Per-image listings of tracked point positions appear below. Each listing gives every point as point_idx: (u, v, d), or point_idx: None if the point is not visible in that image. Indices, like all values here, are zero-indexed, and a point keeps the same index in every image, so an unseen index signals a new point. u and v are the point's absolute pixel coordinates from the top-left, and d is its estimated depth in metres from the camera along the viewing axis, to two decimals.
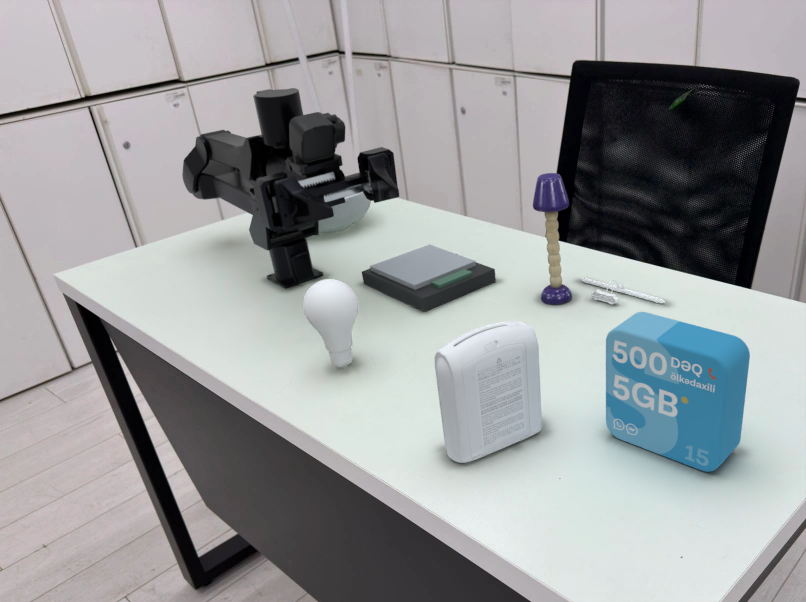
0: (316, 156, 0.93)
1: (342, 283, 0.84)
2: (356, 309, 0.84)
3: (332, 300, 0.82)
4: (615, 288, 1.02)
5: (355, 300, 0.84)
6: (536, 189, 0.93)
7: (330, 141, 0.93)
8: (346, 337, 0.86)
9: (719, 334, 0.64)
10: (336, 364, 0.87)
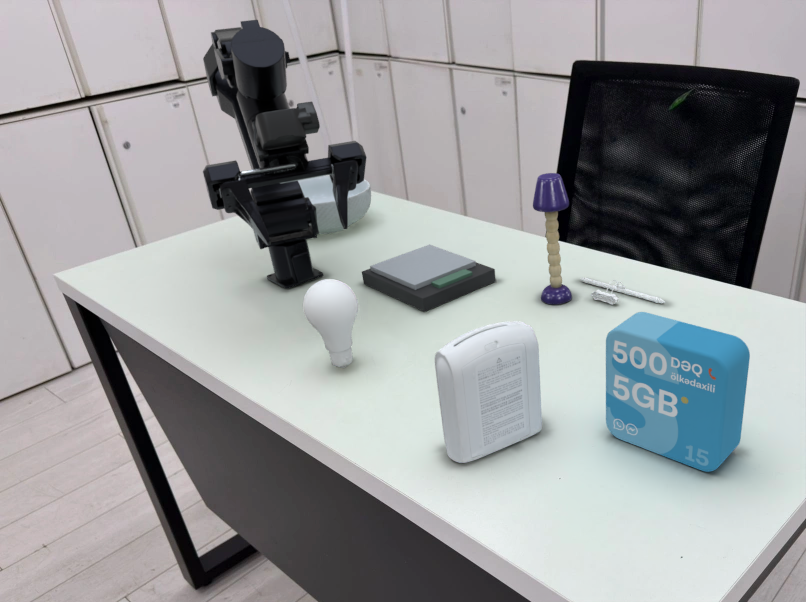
0: (280, 146, 0.87)
1: (342, 283, 0.84)
2: (356, 309, 0.84)
3: (332, 300, 0.82)
4: (615, 288, 1.02)
5: (355, 300, 0.84)
6: (536, 189, 0.93)
7: (298, 139, 0.86)
8: (346, 337, 0.86)
9: (719, 334, 0.64)
10: (336, 364, 0.87)
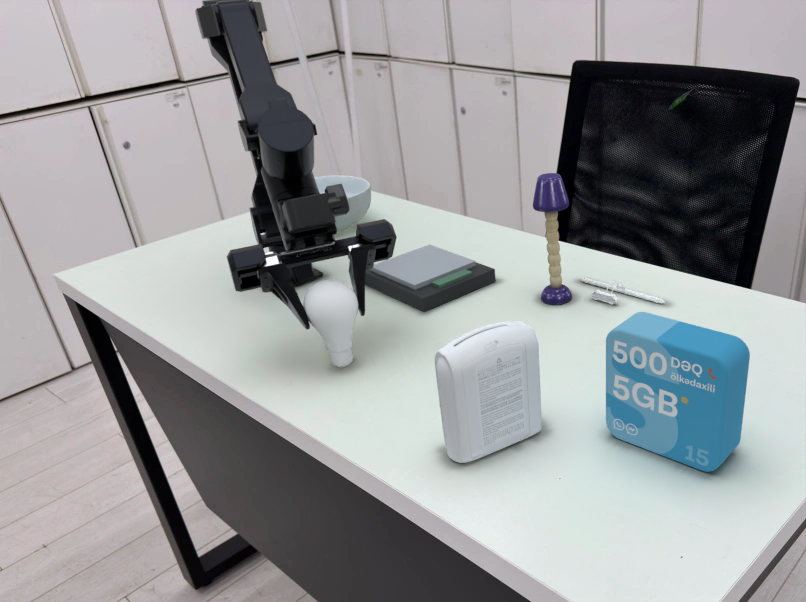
0: (307, 229, 0.83)
1: (342, 283, 0.84)
2: (356, 309, 0.84)
3: (332, 300, 0.82)
4: (615, 288, 1.02)
5: (355, 300, 0.84)
6: (536, 189, 0.93)
7: (326, 223, 0.82)
8: (346, 337, 0.86)
9: (719, 334, 0.64)
10: (336, 364, 0.87)
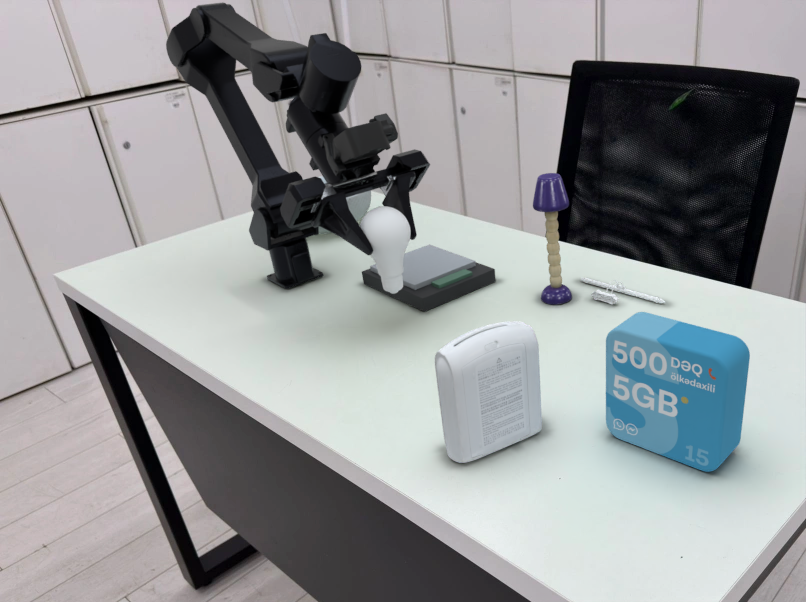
0: (357, 159, 0.87)
1: (395, 209, 0.89)
2: None
3: (394, 223, 0.87)
4: (615, 288, 1.02)
5: (408, 224, 0.90)
6: (536, 189, 0.93)
7: (377, 151, 0.86)
8: (401, 261, 0.91)
9: (719, 334, 0.64)
10: (391, 289, 0.92)
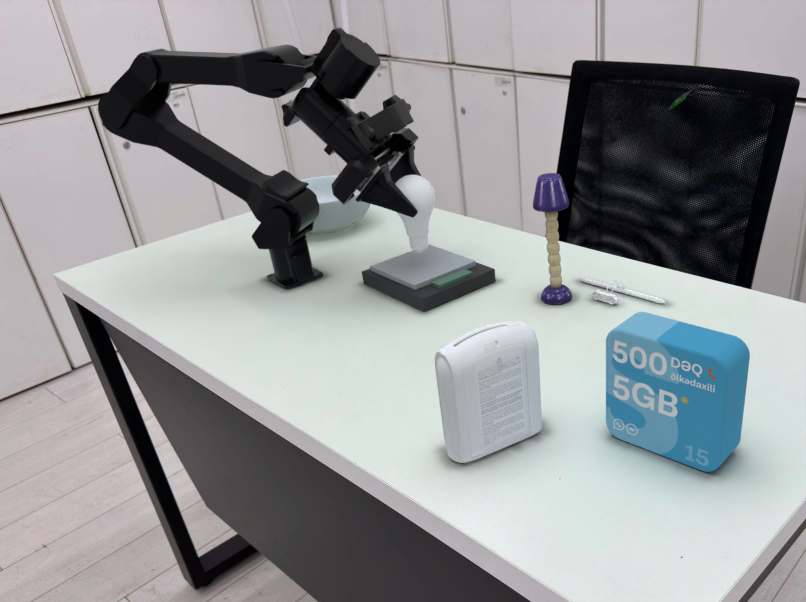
0: None
1: None
2: None
3: (429, 186, 1.01)
4: (615, 288, 1.02)
5: None
6: (536, 189, 0.93)
7: None
8: (428, 221, 1.04)
9: (719, 334, 0.64)
10: (423, 247, 1.05)
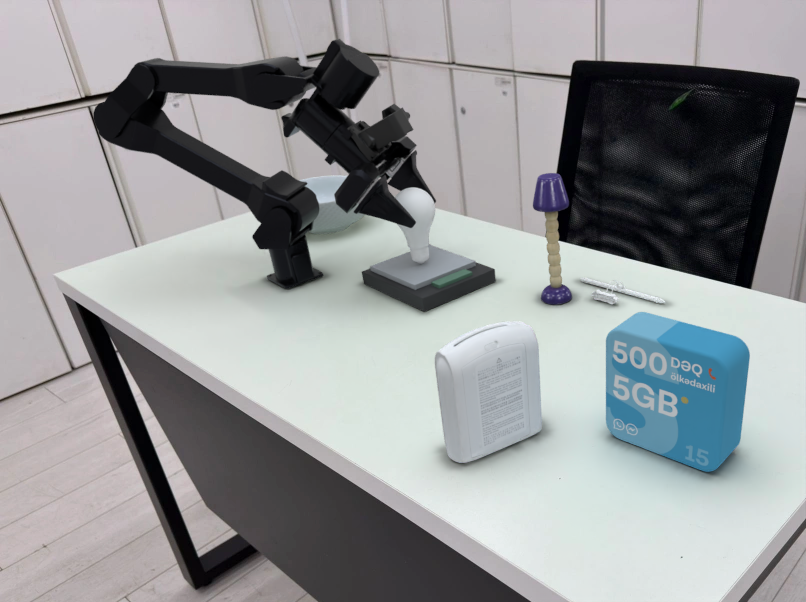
0: None
1: None
2: None
3: (428, 198, 1.03)
4: (615, 288, 1.02)
5: None
6: (536, 189, 0.93)
7: None
8: None
9: (719, 334, 0.64)
10: (424, 258, 1.07)
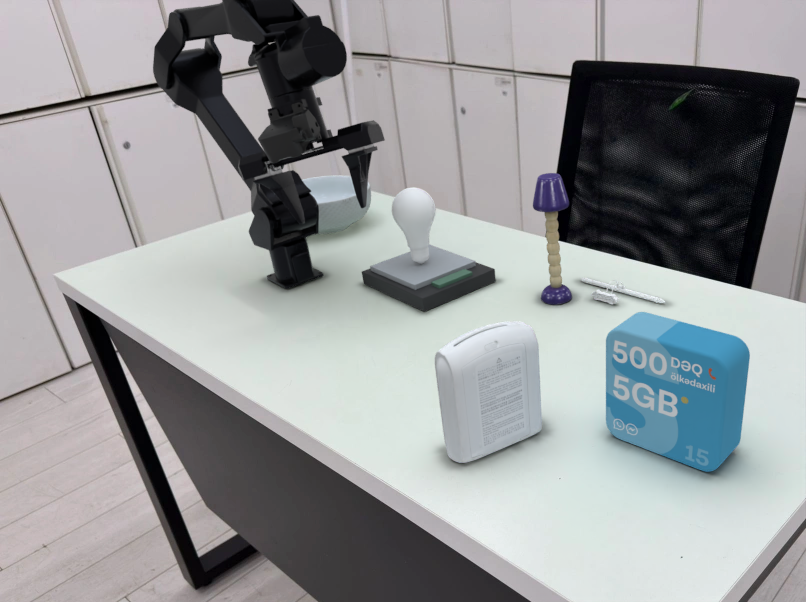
0: None
1: None
2: None
3: (429, 198, 1.03)
4: (615, 288, 1.02)
5: None
6: (536, 189, 0.93)
7: None
8: (429, 232, 1.06)
9: (719, 334, 0.64)
10: (424, 258, 1.07)
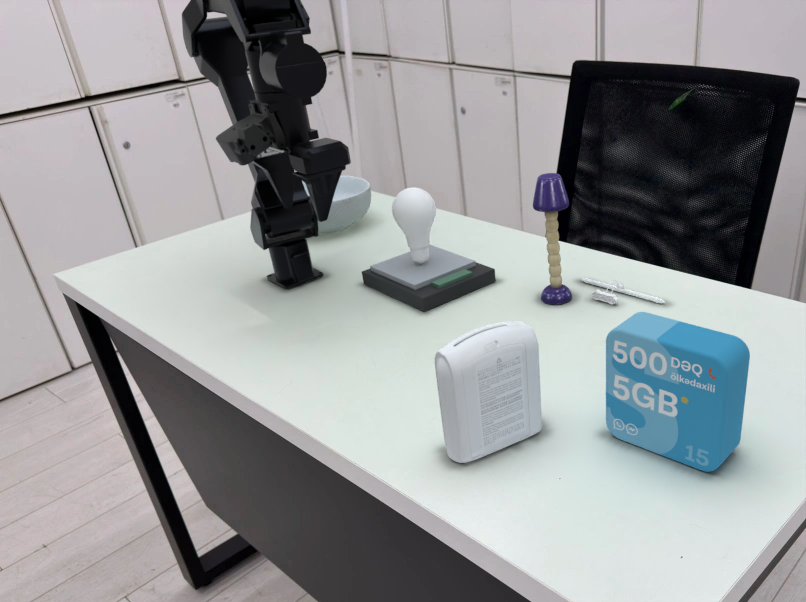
0: None
1: None
2: None
3: (429, 198, 1.02)
4: (615, 288, 1.02)
5: None
6: (536, 189, 0.93)
7: None
8: (429, 232, 1.06)
9: (719, 334, 0.64)
10: (424, 258, 1.07)
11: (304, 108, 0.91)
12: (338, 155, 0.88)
